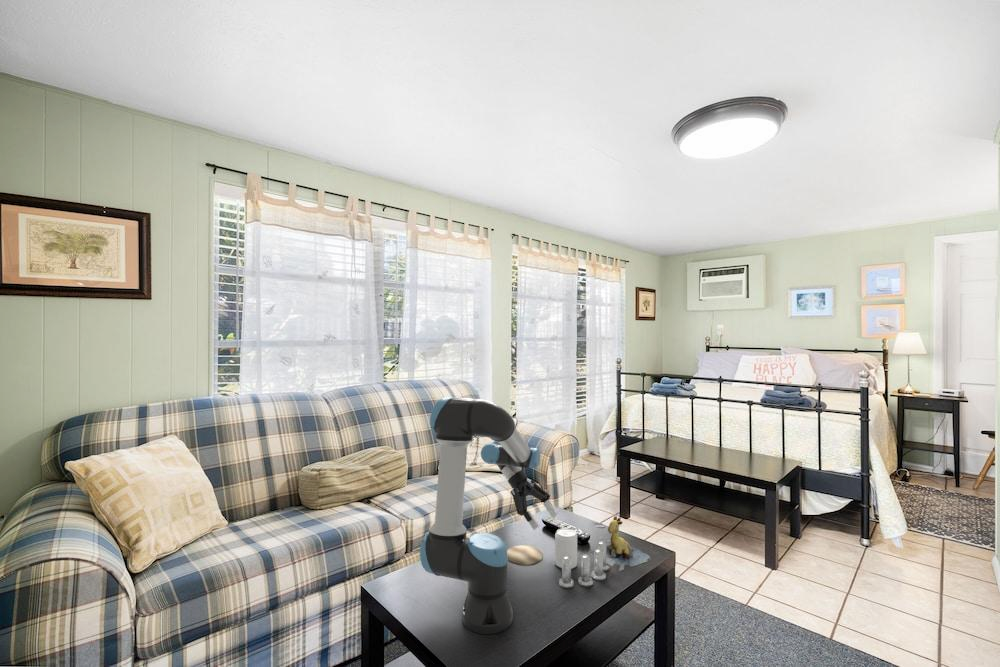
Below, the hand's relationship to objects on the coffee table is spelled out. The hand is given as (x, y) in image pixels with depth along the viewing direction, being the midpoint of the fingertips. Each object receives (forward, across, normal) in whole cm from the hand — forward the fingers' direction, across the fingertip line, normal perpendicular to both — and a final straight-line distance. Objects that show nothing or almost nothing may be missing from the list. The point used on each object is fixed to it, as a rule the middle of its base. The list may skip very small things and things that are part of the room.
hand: (546, 522), depth 171 cm
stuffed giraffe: (+26, -19, +6) cm, 32 cm away
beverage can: (+16, +1, -3) cm, 16 cm away
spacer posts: (+23, +3, +4) cm, 23 cm away
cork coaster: (+4, +5, -14) cm, 16 cm away
